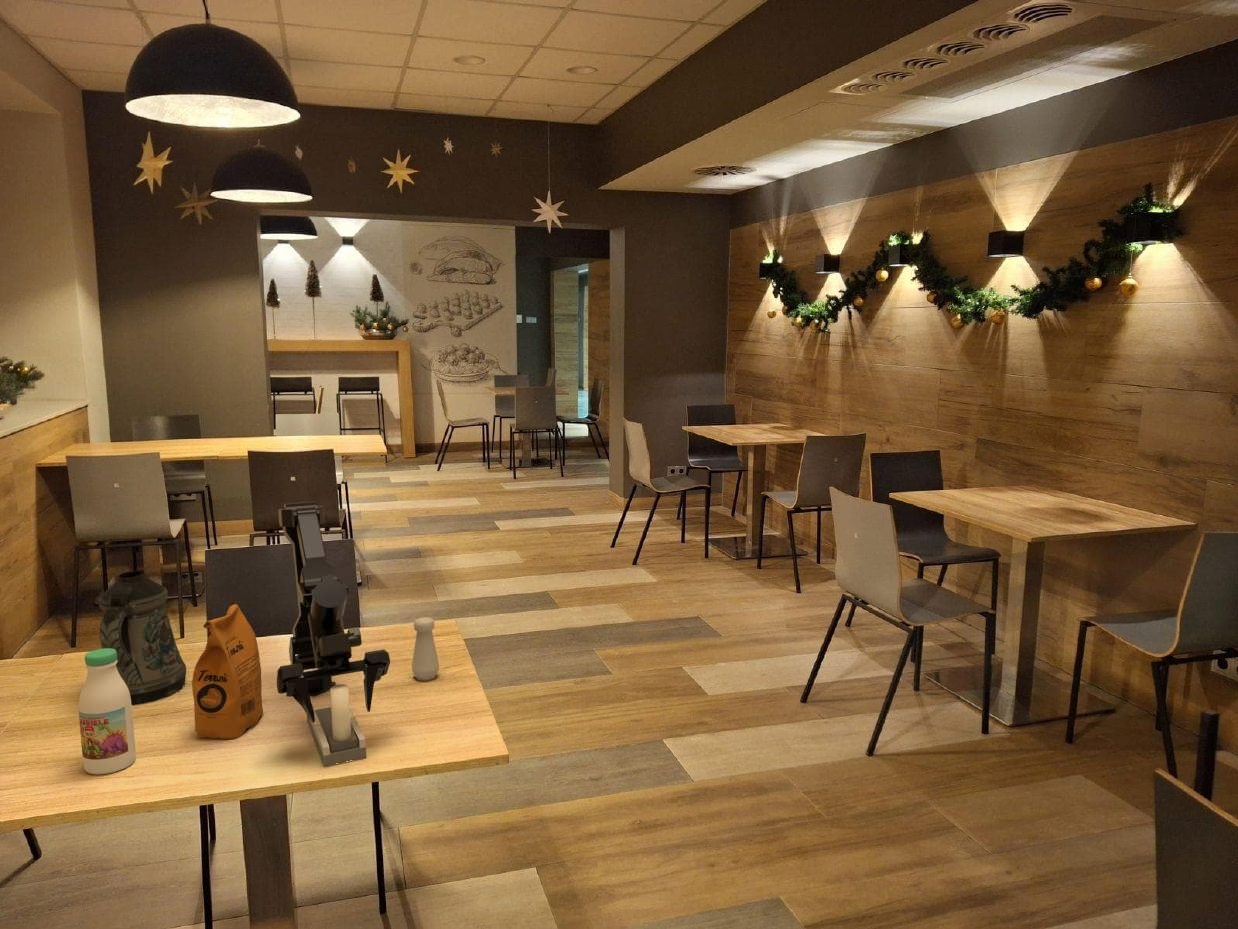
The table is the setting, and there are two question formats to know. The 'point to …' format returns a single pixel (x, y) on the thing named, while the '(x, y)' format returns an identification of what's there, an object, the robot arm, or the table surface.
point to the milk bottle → (105, 716)
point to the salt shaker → (424, 650)
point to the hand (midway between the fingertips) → (341, 716)
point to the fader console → (324, 728)
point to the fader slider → (341, 720)
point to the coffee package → (228, 679)
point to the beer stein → (141, 637)
